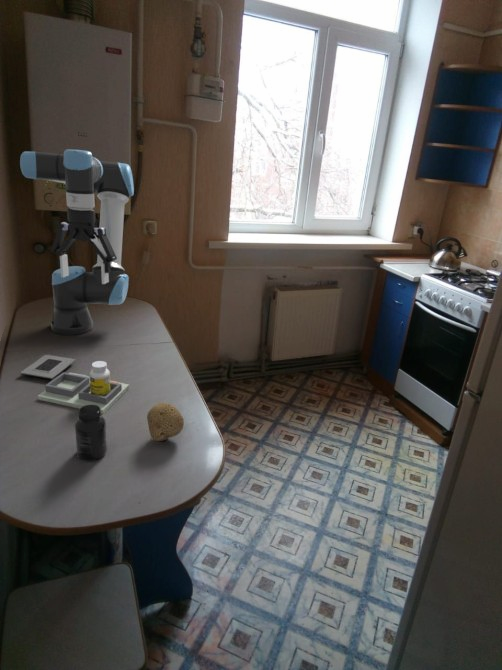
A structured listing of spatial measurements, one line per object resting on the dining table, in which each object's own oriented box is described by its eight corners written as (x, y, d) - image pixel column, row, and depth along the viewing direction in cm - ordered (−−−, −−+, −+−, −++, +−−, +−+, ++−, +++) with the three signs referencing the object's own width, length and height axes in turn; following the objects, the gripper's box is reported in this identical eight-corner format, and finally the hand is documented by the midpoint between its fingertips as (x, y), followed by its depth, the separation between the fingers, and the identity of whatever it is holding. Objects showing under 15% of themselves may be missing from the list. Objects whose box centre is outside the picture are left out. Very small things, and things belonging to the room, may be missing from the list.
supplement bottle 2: (112, 453, 108) (111, 410, 104) (86, 465, 103) (83, 422, 99) (97, 440, 112) (95, 398, 108) (71, 451, 107) (67, 408, 103)
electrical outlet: (52, 383, 136) (52, 376, 135) (20, 378, 137) (20, 371, 136) (75, 365, 148) (75, 358, 147) (46, 360, 149) (45, 353, 148)
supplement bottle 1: (86, 396, 128) (84, 365, 124) (98, 387, 133) (96, 358, 129) (103, 400, 127) (101, 370, 123) (114, 392, 131) (113, 362, 128)
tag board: (69, 375, 140) (69, 366, 139) (129, 388, 136) (129, 378, 135) (38, 399, 126) (37, 389, 125) (103, 413, 123) (102, 403, 122)
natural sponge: (183, 428, 120) (184, 396, 116) (183, 449, 112) (184, 415, 108) (148, 428, 119) (148, 395, 115) (145, 449, 111) (145, 415, 107)
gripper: (33, 204, 128) (40, 276, 136) (114, 214, 123) (116, 289, 132) (50, 201, 135) (56, 270, 143) (127, 211, 130) (128, 282, 138)
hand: (85, 279), depth 137 cm, fingers open, 13 cm apart
